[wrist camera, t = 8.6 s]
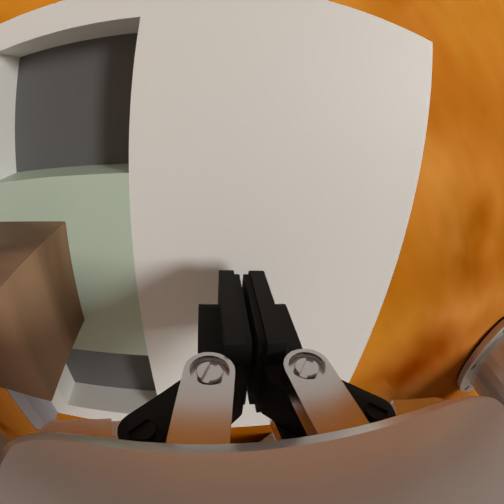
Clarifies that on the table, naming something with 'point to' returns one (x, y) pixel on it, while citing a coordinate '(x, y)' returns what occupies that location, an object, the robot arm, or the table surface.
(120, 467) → the robot arm
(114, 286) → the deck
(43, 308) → the block
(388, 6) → the table surface
